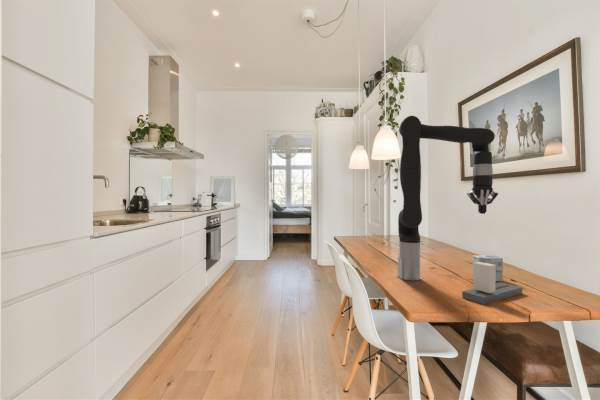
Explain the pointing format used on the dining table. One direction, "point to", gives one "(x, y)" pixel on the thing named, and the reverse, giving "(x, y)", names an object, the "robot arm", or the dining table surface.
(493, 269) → the cap
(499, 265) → the light bulb box
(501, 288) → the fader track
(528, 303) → the dining table surface
